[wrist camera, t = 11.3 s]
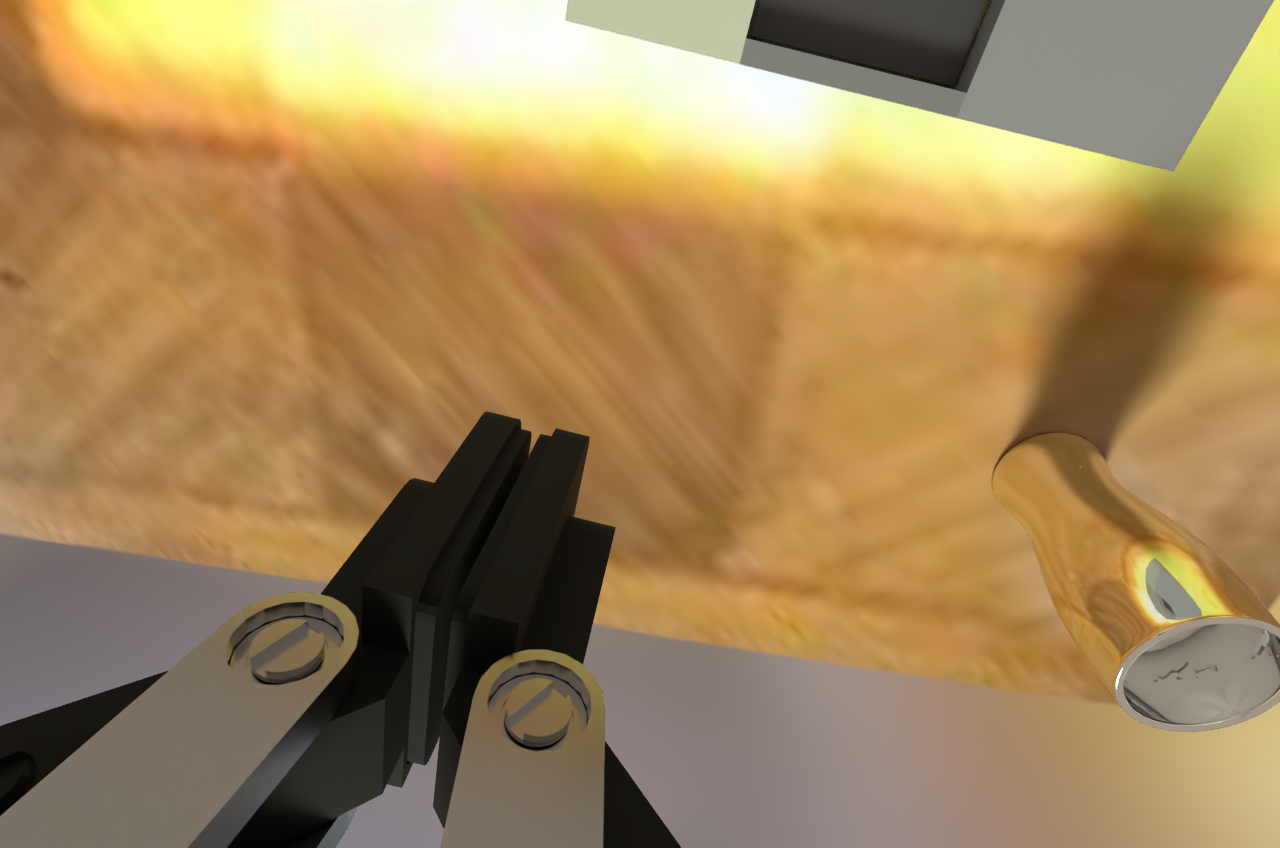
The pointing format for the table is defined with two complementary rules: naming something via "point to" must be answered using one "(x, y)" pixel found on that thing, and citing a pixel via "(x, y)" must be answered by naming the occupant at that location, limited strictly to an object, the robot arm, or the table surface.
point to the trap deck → (983, 58)
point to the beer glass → (1140, 592)
